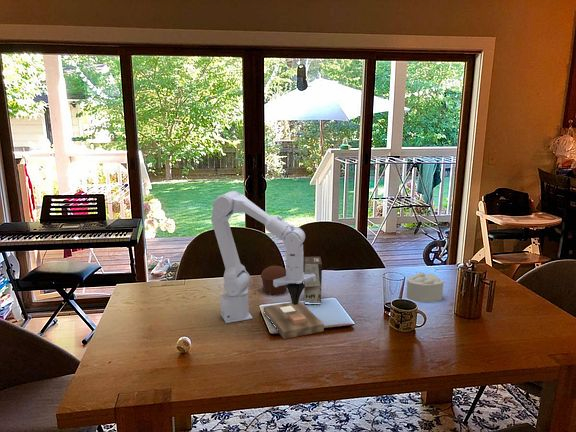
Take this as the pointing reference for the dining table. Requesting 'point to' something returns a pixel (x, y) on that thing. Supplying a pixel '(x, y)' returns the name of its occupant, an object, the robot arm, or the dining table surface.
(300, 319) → the terracotta key
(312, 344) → the dining table surface
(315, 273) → the coffee box
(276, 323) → the key block
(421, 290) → the lumpy-topped squat cylinder
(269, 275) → the muffin
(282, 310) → the cream small block
